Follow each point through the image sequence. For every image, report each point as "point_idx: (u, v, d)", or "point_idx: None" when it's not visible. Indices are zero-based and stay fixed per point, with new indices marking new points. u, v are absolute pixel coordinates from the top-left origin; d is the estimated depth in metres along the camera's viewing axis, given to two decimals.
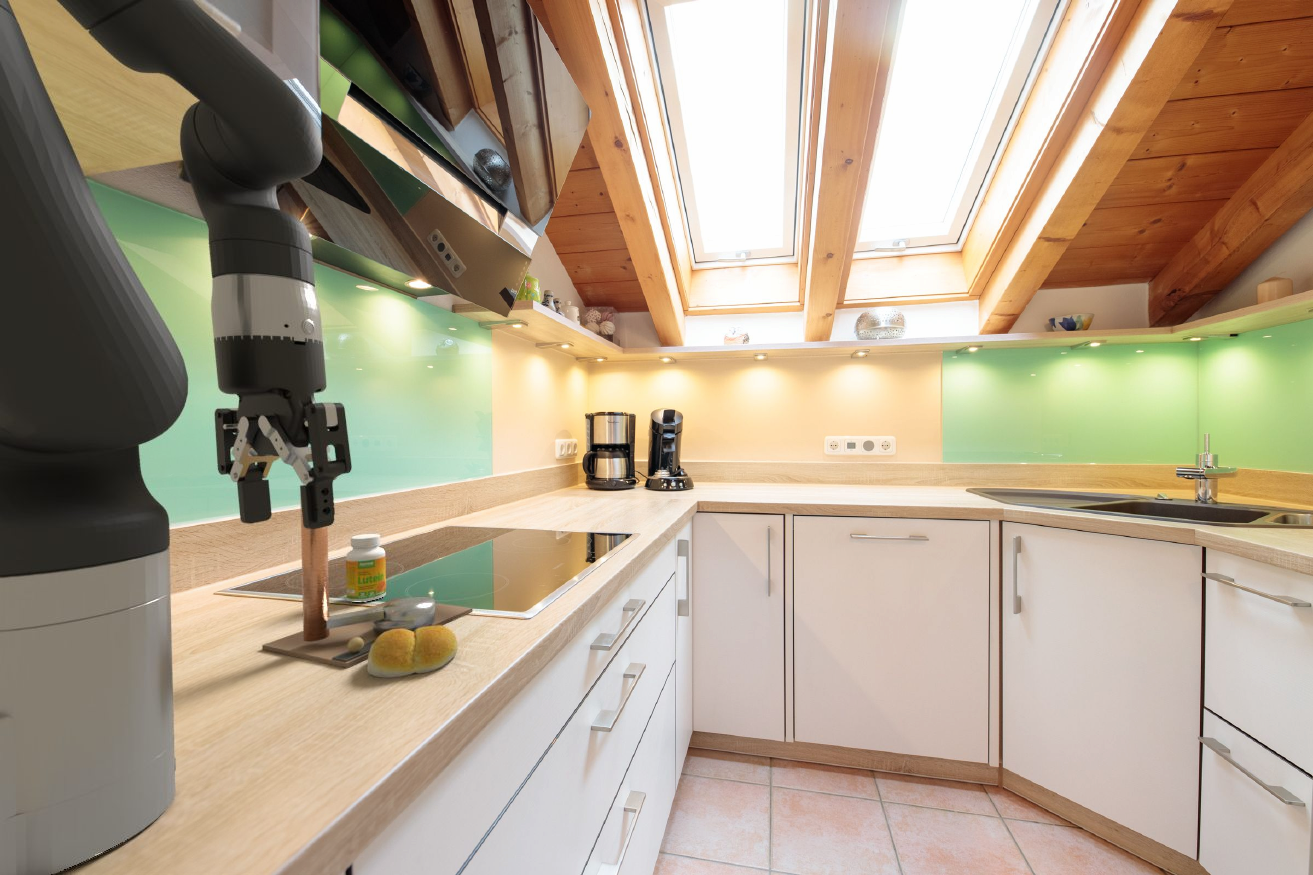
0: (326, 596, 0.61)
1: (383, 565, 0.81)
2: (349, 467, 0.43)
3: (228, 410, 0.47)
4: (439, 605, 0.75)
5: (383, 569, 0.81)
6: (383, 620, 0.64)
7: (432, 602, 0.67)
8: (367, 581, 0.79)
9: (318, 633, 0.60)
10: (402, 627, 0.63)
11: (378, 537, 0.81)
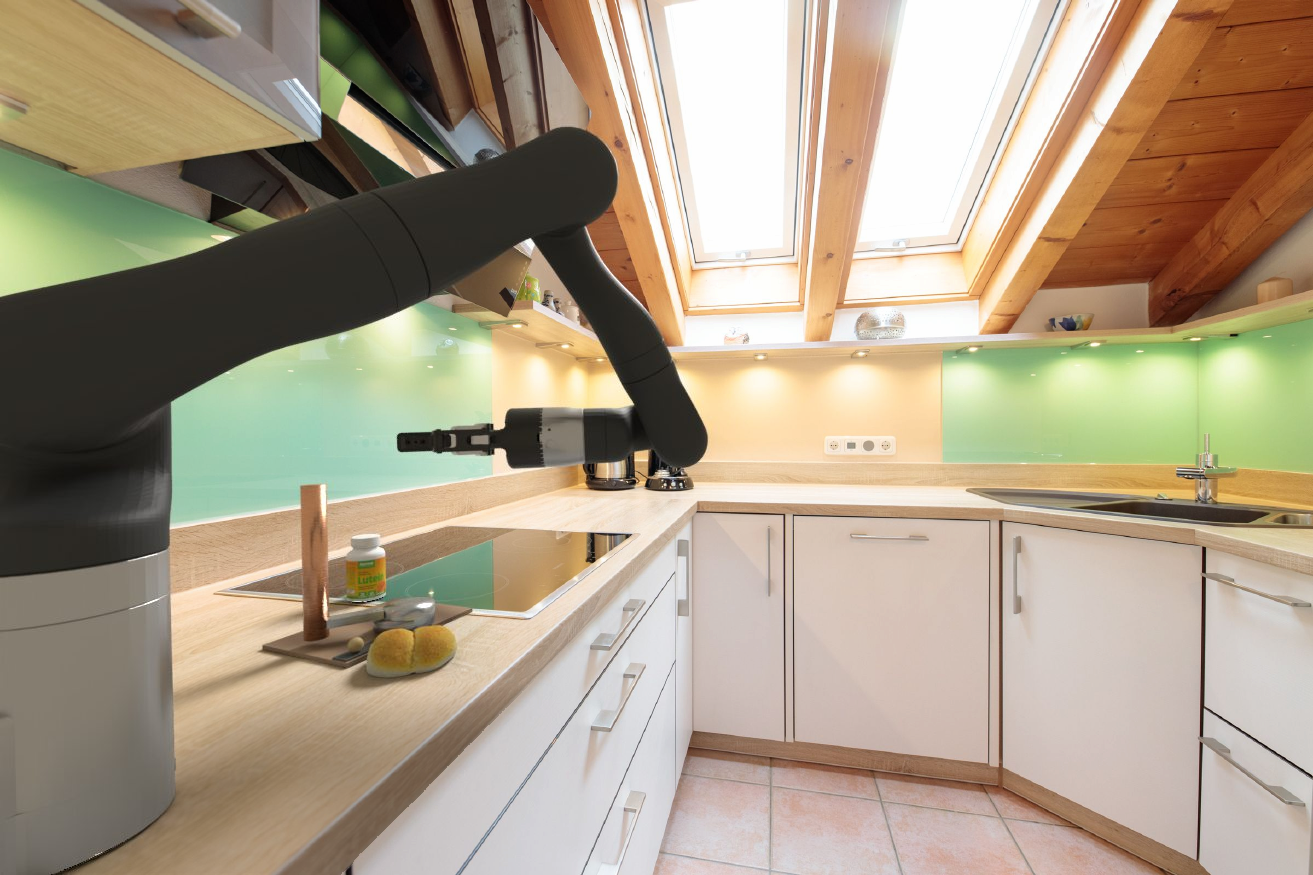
0: (326, 596, 0.61)
1: (383, 565, 0.81)
2: (437, 450, 0.56)
3: None
4: (439, 605, 0.75)
5: (383, 569, 0.81)
6: (383, 620, 0.64)
7: (432, 602, 0.67)
8: (367, 581, 0.79)
9: (318, 633, 0.60)
10: (402, 627, 0.63)
11: (379, 537, 0.81)
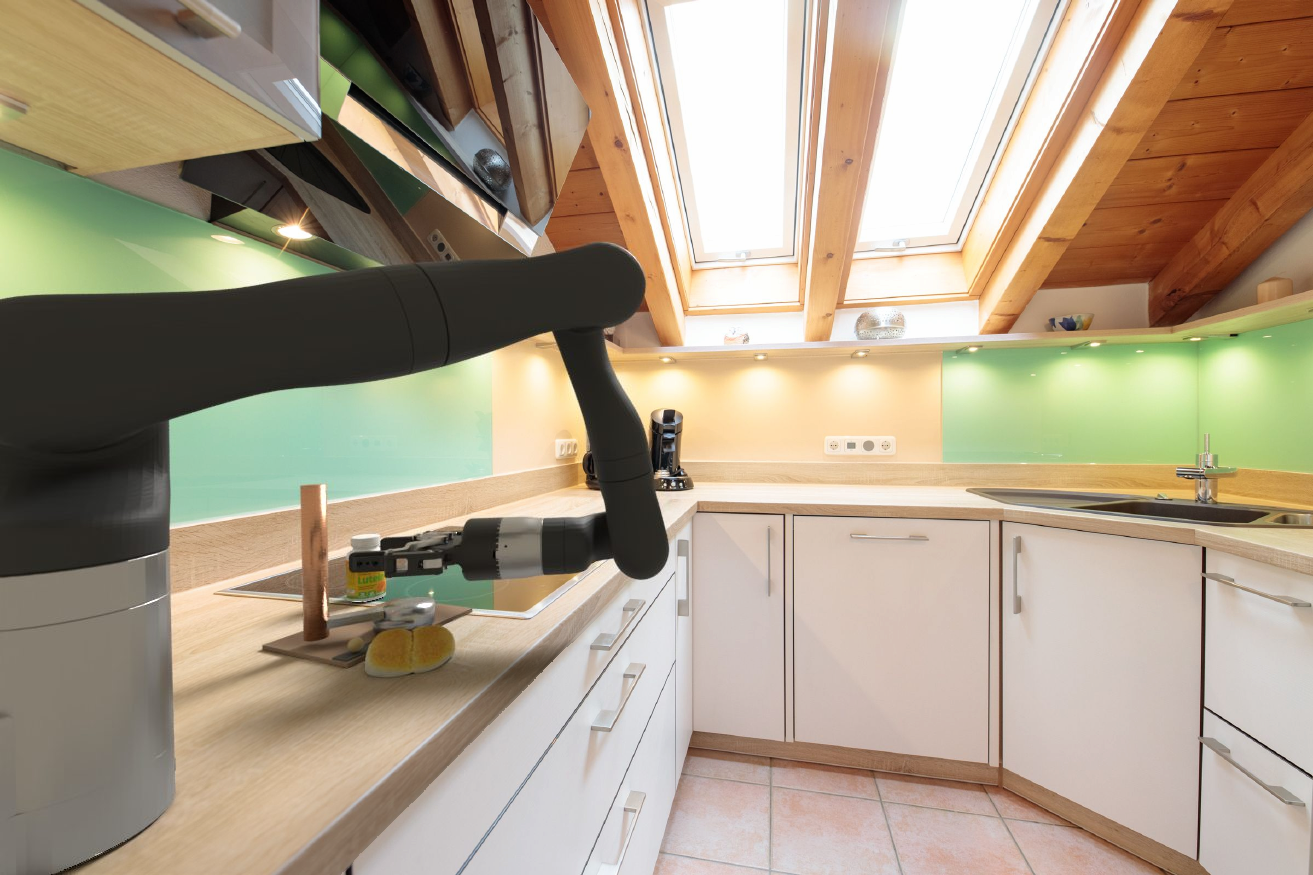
0: (326, 596, 0.61)
1: None
2: (387, 575, 0.55)
3: None
4: (439, 605, 0.75)
5: None
6: (383, 620, 0.64)
7: (432, 602, 0.67)
8: (367, 581, 0.79)
9: (318, 633, 0.60)
10: (402, 627, 0.63)
11: (378, 537, 0.81)
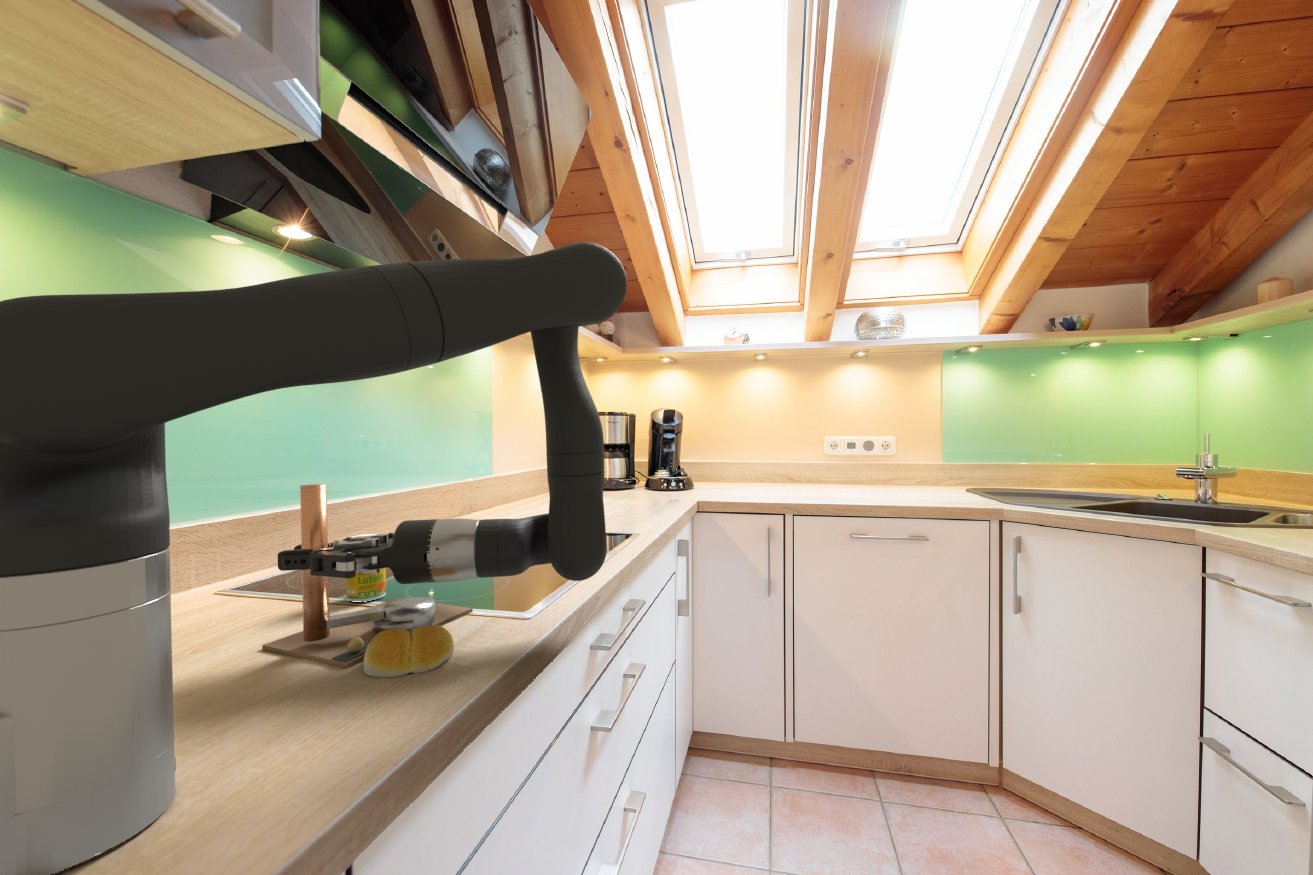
0: (326, 596, 0.61)
1: None
2: (310, 573, 0.57)
3: None
4: (439, 605, 0.75)
5: (383, 569, 0.81)
6: (383, 620, 0.64)
7: (432, 602, 0.67)
8: (367, 581, 0.79)
9: (318, 633, 0.60)
10: (402, 627, 0.63)
11: None
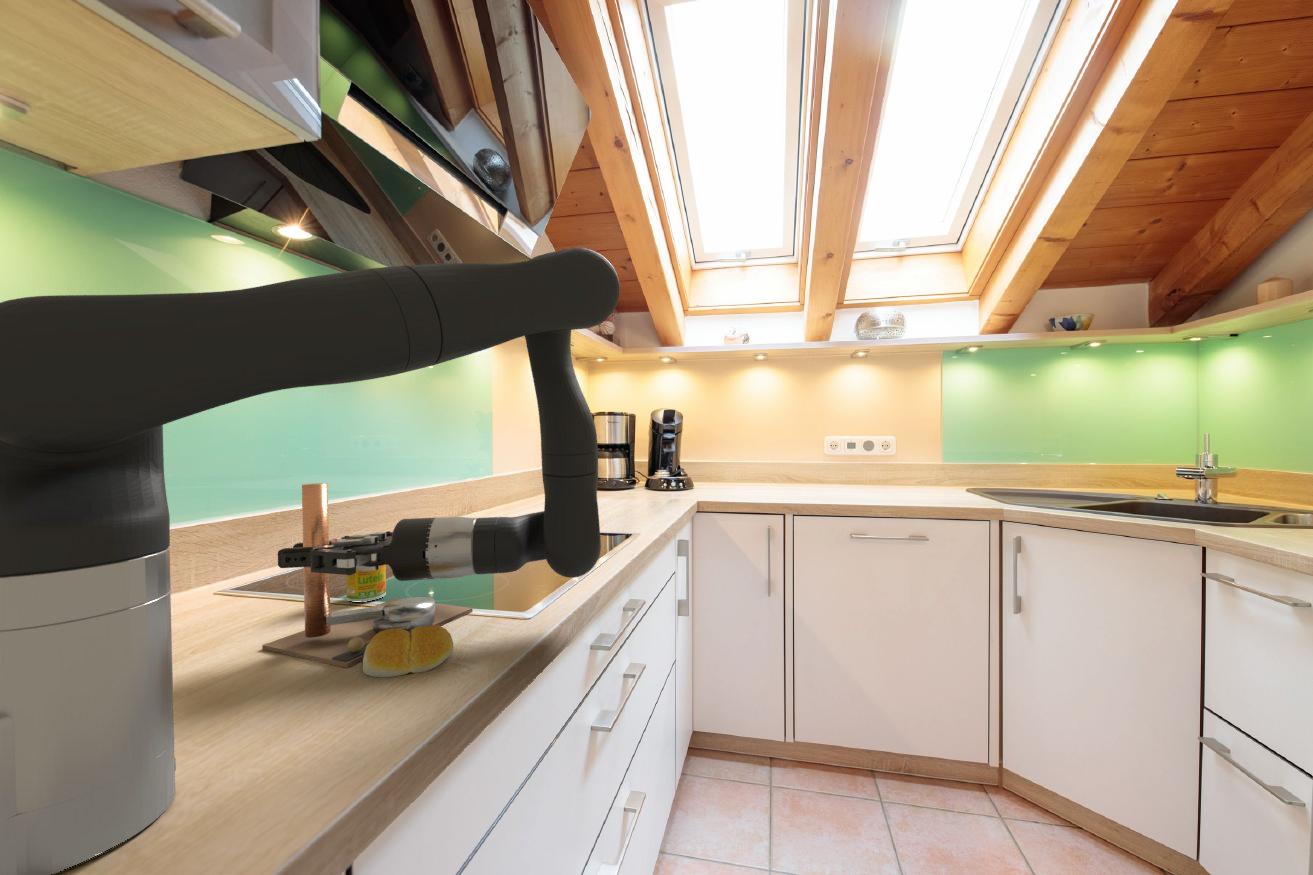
0: (326, 593, 0.62)
1: (383, 565, 0.81)
2: (311, 570, 0.58)
3: None
4: (439, 605, 0.75)
5: (383, 569, 0.81)
6: (382, 619, 0.64)
7: (431, 603, 0.67)
8: (367, 581, 0.79)
9: (317, 629, 0.61)
10: (398, 627, 0.63)
11: None
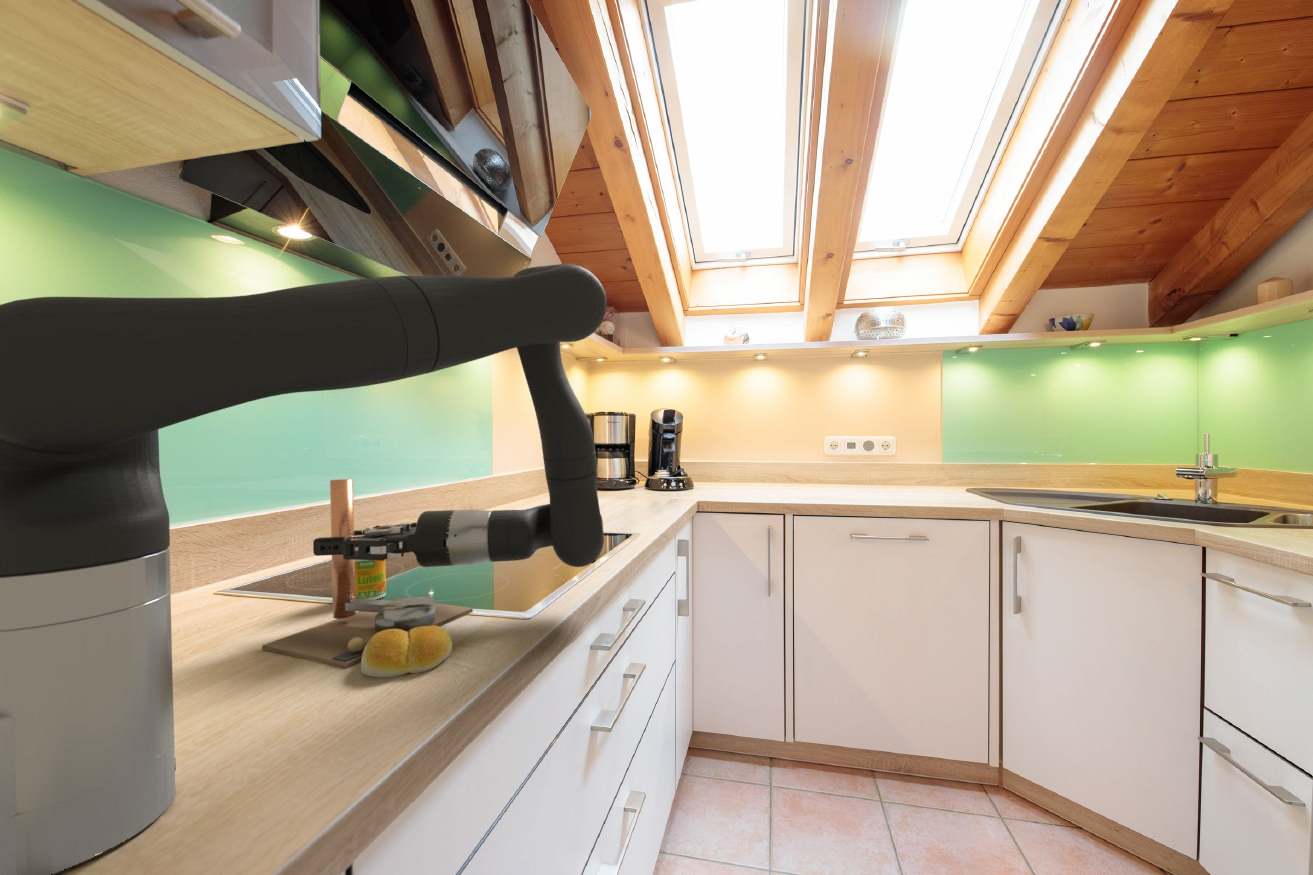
0: (346, 580, 0.68)
1: (383, 565, 0.81)
2: (344, 557, 0.65)
3: None
4: (439, 605, 0.75)
5: (383, 569, 0.81)
6: None
7: (421, 607, 0.65)
8: (367, 581, 0.79)
9: (337, 612, 0.68)
10: (383, 626, 0.64)
11: None
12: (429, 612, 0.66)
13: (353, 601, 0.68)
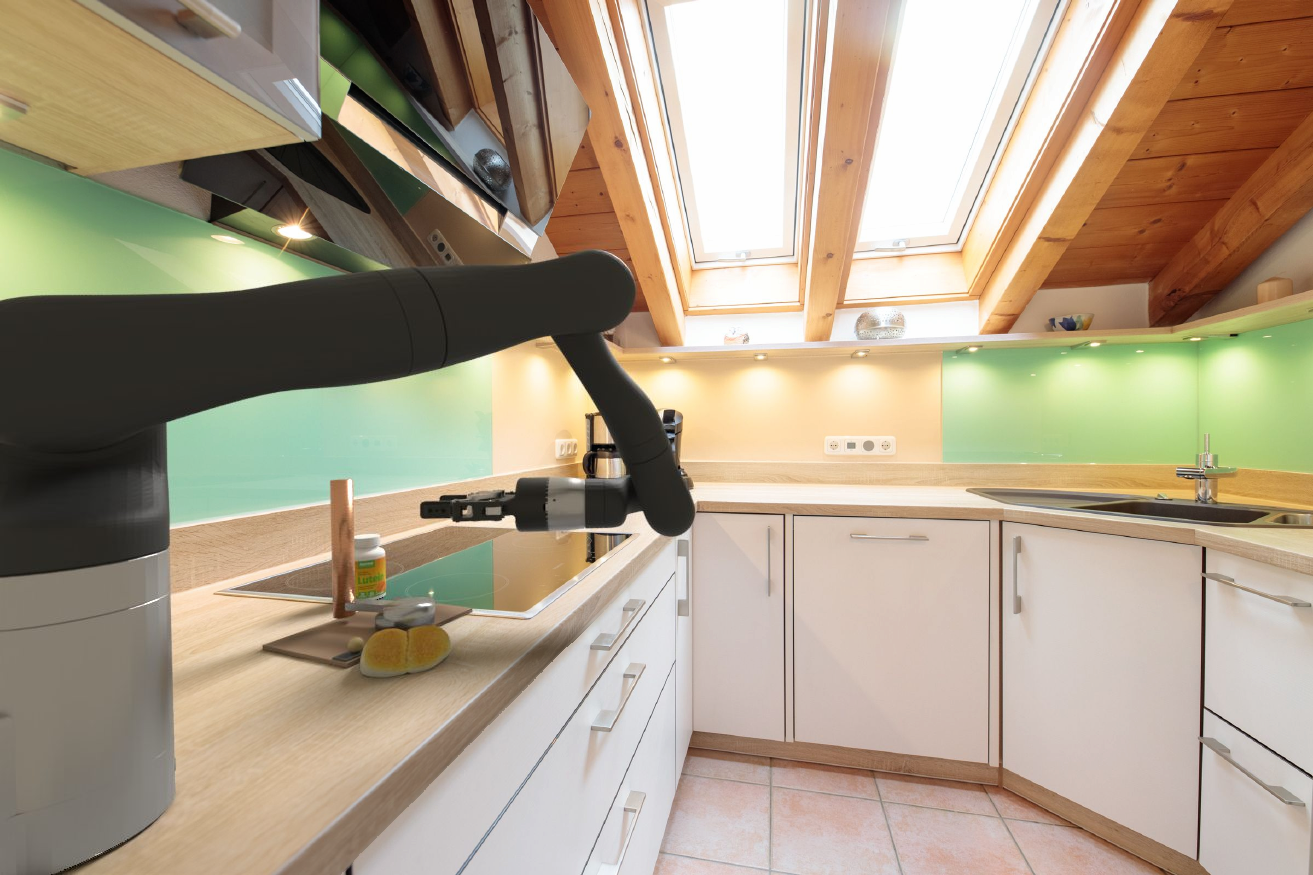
0: (346, 580, 0.68)
1: (383, 565, 0.81)
2: (455, 520, 0.64)
3: None
4: (439, 605, 0.75)
5: (383, 569, 0.81)
6: None
7: (421, 607, 0.65)
8: (367, 581, 0.79)
9: (337, 612, 0.68)
10: (383, 626, 0.64)
11: (378, 537, 0.81)
12: (429, 612, 0.66)
13: (353, 601, 0.68)
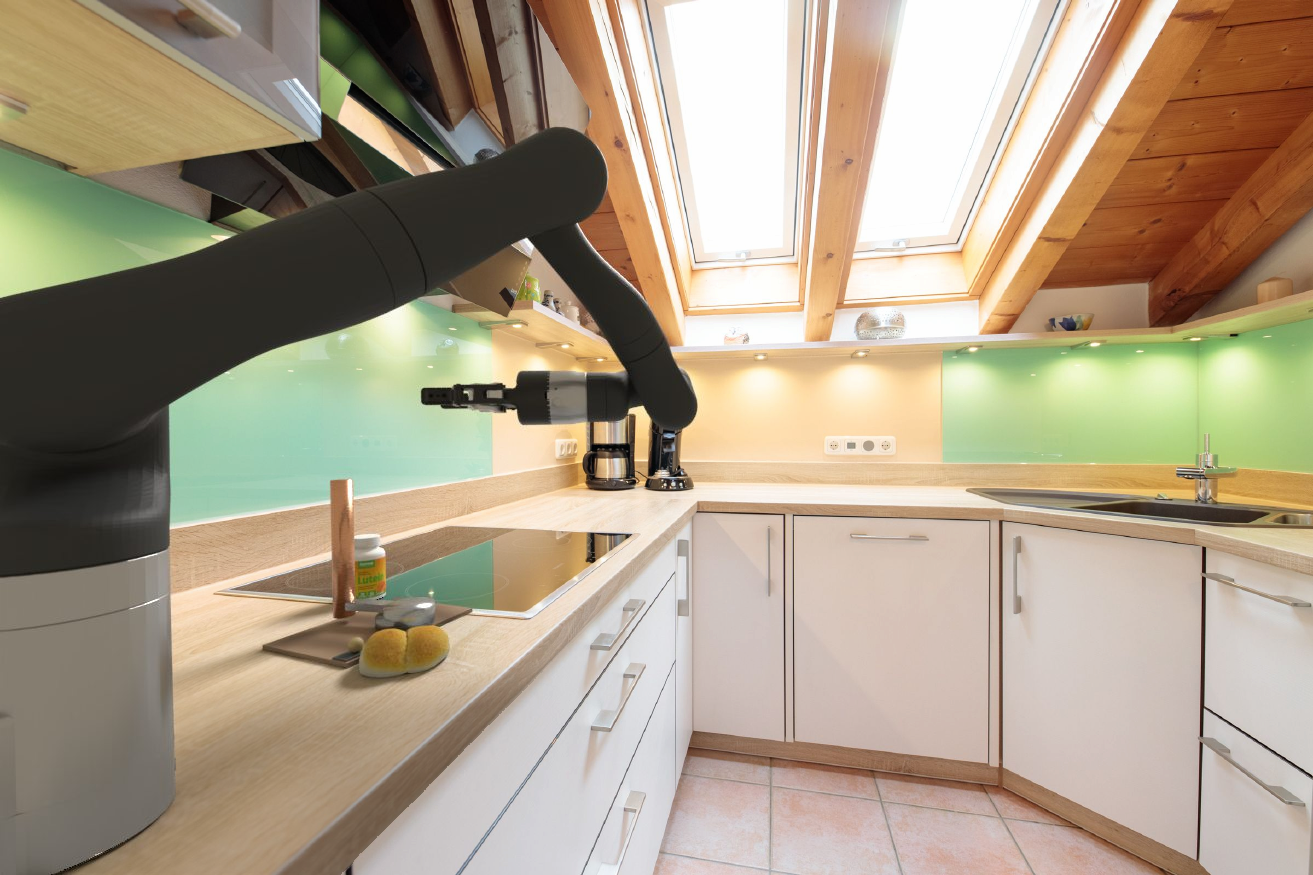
0: (346, 580, 0.68)
1: (383, 565, 0.81)
2: (456, 402, 0.64)
3: None
4: (439, 605, 0.75)
5: (383, 569, 0.81)
6: None
7: (421, 607, 0.65)
8: (367, 581, 0.79)
9: (337, 612, 0.68)
10: (383, 626, 0.64)
11: (379, 537, 0.81)
12: (429, 612, 0.66)
13: (353, 601, 0.68)
